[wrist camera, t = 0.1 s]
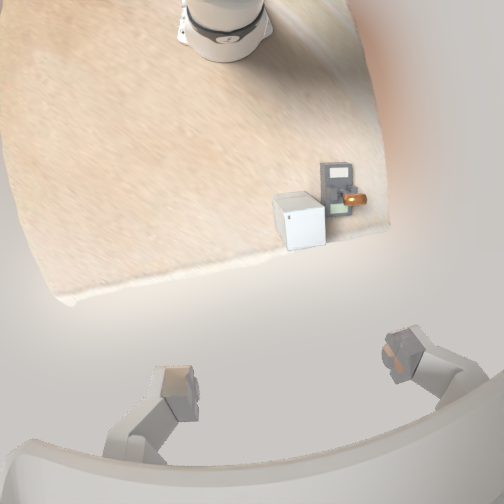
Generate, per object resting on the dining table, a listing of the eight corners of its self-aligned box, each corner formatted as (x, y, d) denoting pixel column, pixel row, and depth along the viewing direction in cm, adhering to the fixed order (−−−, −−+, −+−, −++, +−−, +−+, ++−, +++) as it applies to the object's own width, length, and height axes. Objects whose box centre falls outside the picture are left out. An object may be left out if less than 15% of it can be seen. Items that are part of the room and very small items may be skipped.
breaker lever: (331, 187, 52) (347, 196, 45) (349, 186, 52) (366, 195, 46) (331, 197, 53) (347, 207, 46) (349, 195, 53) (366, 205, 46)
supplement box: (274, 227, 59) (286, 252, 48) (270, 194, 56) (282, 211, 45) (307, 223, 59) (326, 246, 48) (305, 190, 56) (325, 205, 45)
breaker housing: (320, 162, 54) (329, 166, 49) (346, 162, 54) (358, 165, 49) (321, 212, 59) (330, 221, 53) (346, 210, 59) (356, 218, 54)
